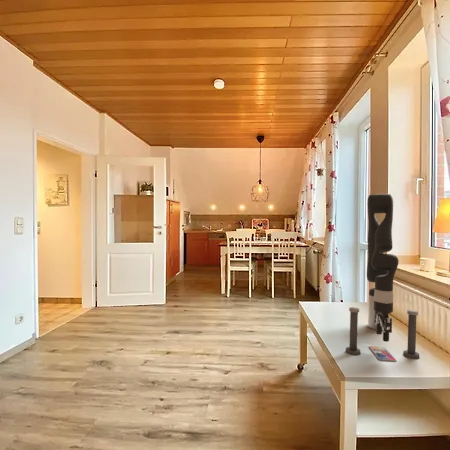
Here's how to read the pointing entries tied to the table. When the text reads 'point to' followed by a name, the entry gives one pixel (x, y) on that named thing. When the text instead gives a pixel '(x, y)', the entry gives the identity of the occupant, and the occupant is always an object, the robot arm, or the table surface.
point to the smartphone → (382, 354)
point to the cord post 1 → (353, 332)
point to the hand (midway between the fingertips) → (382, 337)
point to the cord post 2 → (411, 335)
